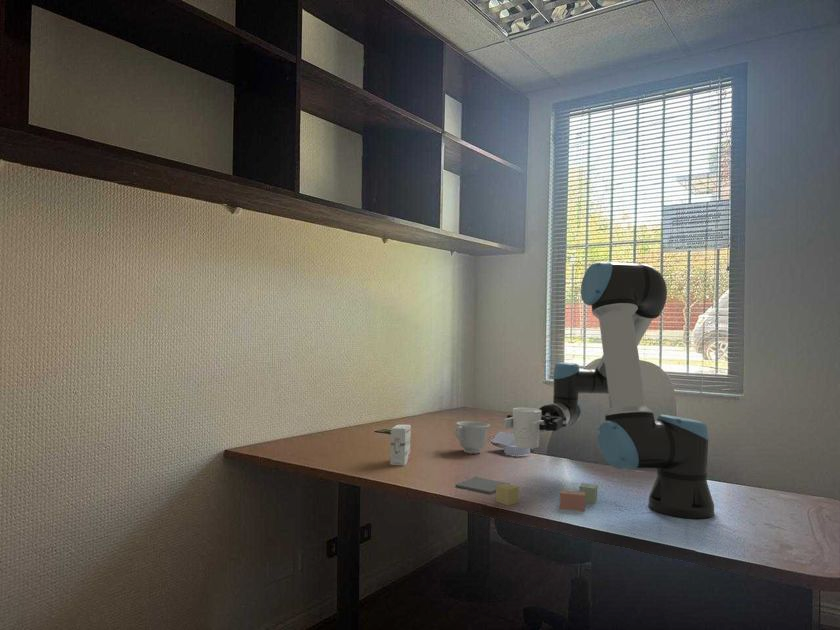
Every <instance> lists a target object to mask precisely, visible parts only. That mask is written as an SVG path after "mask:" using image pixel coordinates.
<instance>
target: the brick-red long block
mask: <svg viewBox="0 0 840 630" xmlns="http://www.w3.org/2000/svg"><path fill="white" fill-rule="evenodd" d="M559 509H562V510H569V511H570V510H571V511H579V512H585V511H586V503H585V492H579V491H577V490H566V489H560V493H559Z"/></svg>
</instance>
